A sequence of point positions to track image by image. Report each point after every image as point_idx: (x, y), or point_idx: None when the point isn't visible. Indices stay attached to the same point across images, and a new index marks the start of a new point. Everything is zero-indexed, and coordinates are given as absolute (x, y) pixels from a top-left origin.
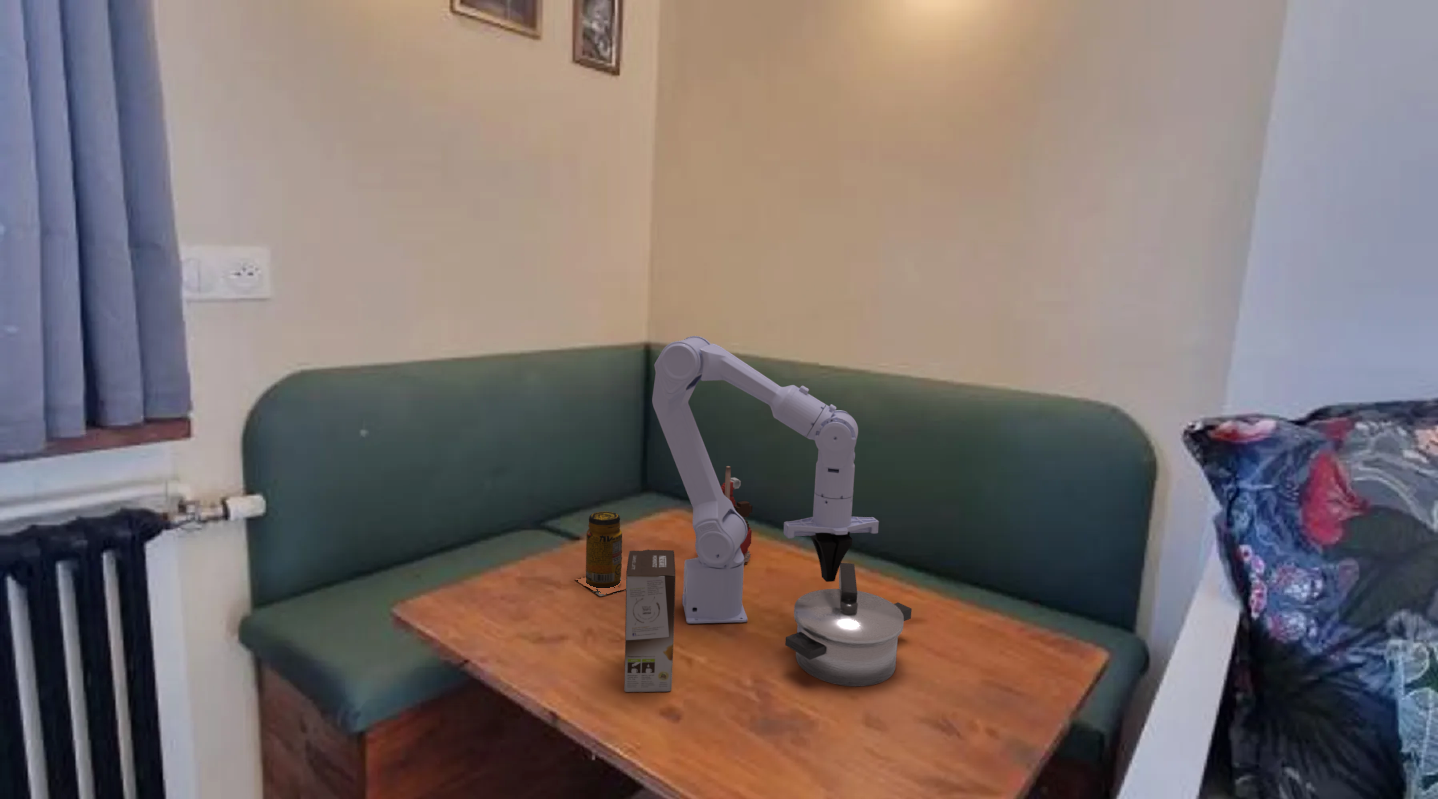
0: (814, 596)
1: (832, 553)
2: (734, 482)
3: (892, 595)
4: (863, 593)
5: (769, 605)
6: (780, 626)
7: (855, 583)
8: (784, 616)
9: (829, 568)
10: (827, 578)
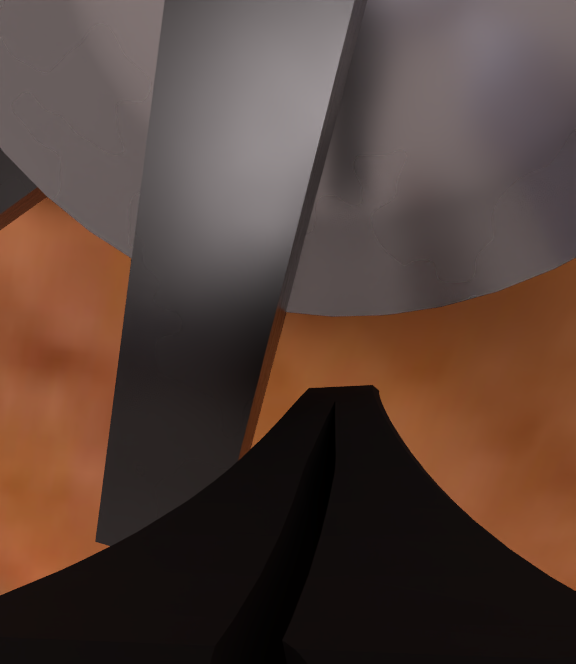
0: (557, 178)
1: (343, 538)
2: None
3: (12, 525)
4: (116, 216)
5: (544, 519)
6: (573, 333)
7: (159, 108)
8: (513, 421)
9: (364, 433)
10: (372, 394)
